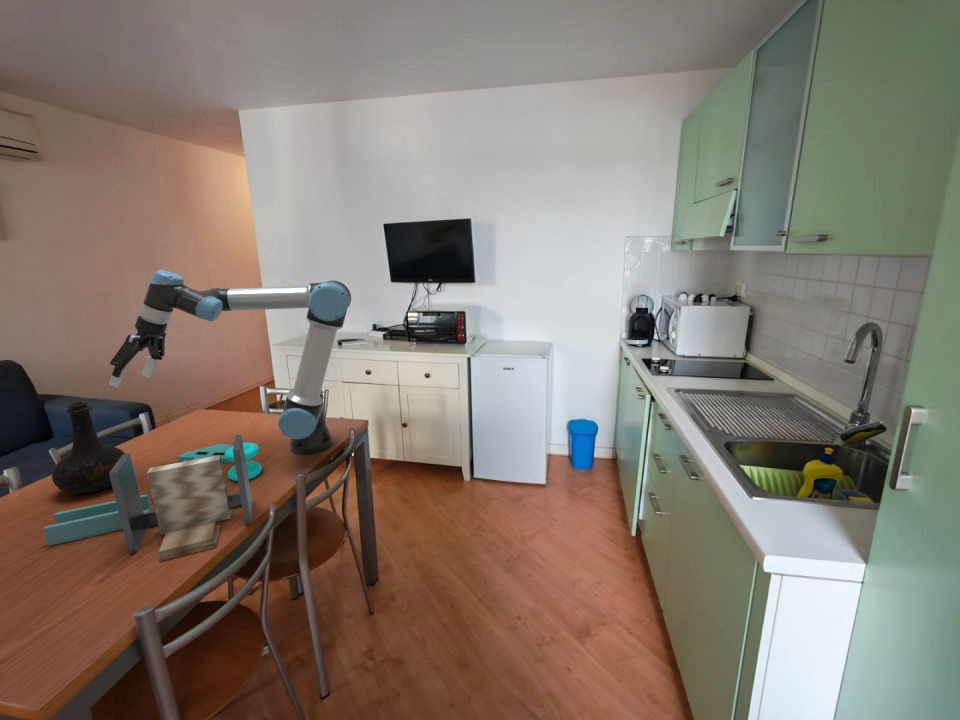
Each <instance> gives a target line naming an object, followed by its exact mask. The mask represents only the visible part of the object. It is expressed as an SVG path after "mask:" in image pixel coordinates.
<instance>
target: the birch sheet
mask: <svg viewBox="0 0 960 720" xmlns="http://www.w3.org/2000/svg"><path fill="white" fill-rule="evenodd" d="M174 463H175V464H173V463H170V464H165V465H158V466H155V467H149V469H148V470H147V472H146V476H147V479H148V480H147V481H148V484H149V490H150V493H151V497H152V498H151V499H152V502H153V506H154V507H153V508H154V510H155V512H156V516H157V521H158V525H157V526H158V529H159V534H160V536H161V535H162V536H163V535H165V534H166V533H171V532H175V531H179V530H183V529H188V528H192V527H196V526H201V525H205V524H209V523H213V522H215V523H216V522H220V521H226V520H228V519H229V520H230V519H231V513H232V511H231V508H230V506H229V500H228V490H227V484H226V478H225V472H224V466H223V463H222V460H221V455H218V456H213V457H207V458H202V459H197V460H191V461H186V462H180V461H179V462H177V463H176V462H174Z"/></svg>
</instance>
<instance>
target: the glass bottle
mask: <svg viewBox="0 0 960 720" xmlns="http://www.w3.org/2000/svg"><path fill="white" fill-rule="evenodd" d="M67 407H68V409H67V410H66V412H65V413H67V414H69V415H70V422H71V428H72V448H71V451H70V452H69V453H68V454H67V455H66V456H64V457H62V458H61V459H60V460H59V461H58V462H57V463H55V466H54V468H53V469H52V472H51V479H52V483H53V484H54V485H55V487H56V488H57V489H59V490H60V491H63V492H66V493H68V494H73V495H82V494H83V495H84V494H91V493H95V492H99V491H102V490H106V489H107V488H109V487H112V484H111V480H110V476H109V473H110V471H111V470H112V468H113V467H114V466H115V464H116V463H117V461H118V460H119V459H120V457H121V456H122V455H123V454H126V452H124V450H122V449H121V448H119V447H116V446H112V445H104V444H103V443H102V442H101V440H100V438H99V436H98V434H97V432H96V429H95V426H94V423H93V420H92V416H91V413H90V410H92V409H93V407H92V406H90V405H88V402H87V401H79V402H76V403H71V404H69V405H67Z"/></svg>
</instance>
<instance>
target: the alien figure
mask: <svg viewBox="0 0 960 720" xmlns="http://www.w3.org/2000/svg"><path fill="white" fill-rule="evenodd" d="M232 446H234V444H231V443H230V444H229V443H228V444H227V443H217V444H214V445H212V446H206V447H204V448H197V449H195V450H193V451H191V450H190V451H189V450H187V451H186V452H184V453H182V454H181V455H179V456H178V457H177V460H178V462H179V463H180V462H186V461H191V460H197V459H202V458H207V457H213V456H218V455H221V460H222V464H232V463H233V462H232V461H229V460H227V459H226V458H225V452H226V450H227V449H228V448H230V447H232ZM175 463H176V462H174V463H172V464H175Z"/></svg>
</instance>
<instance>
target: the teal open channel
mask: <svg viewBox="0 0 960 720" xmlns="http://www.w3.org/2000/svg"><path fill="white" fill-rule="evenodd" d="M140 499H141V503H142V507H143V512H144V513H145V512H150V511H152V507H151V503H150V500H149V499H150V498H149V494H146V493H145V494H141V495H140ZM54 518H55V522H56V523H54V524H51V525H46V526H44V527H43V528H42V529H43V533H44V536H45V539H46V543H47V546H48V547H50V546H54V545H58V544H63V543H68V542H72V541H77V540H82V539H84V538H85V539H86V538H90V537H95V536H99V535H102V534H108V533H112V532H116V531H121V530H123V528H122V524H121V520H120V516H119V512H118V508H117V504H116V500H113V501H108V502H102V503H98V504H94V505H93V504H92V505H88V506H84V507H83V506H82V507H78V508H72V509H67V510H63V511H58V512H56V513H54Z"/></svg>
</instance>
